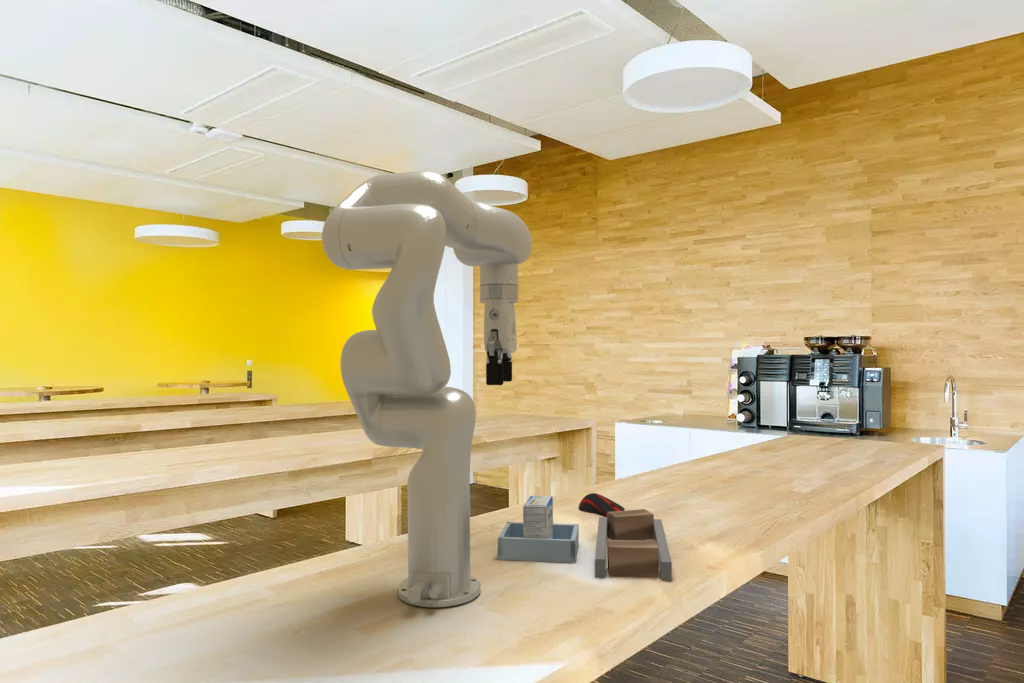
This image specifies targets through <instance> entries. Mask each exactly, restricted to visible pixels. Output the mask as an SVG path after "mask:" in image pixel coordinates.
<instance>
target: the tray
mask: <svg viewBox="0 0 1024 683" xmlns="http://www.w3.org/2000/svg"><path fill="white" fill-rule="evenodd" d="M579 527H580V526H579V524H576V523H553V539H545V538H524V536H523V522H522V521H521V522H520V521H507V522H506V523H505V524H504V526H503V528H502V530H501V532H500V534H499V535H498V537H497V560H499V561H500V560H504V561H522V562H526V561H527V562H545V563H546V562H547V563H548V562H549V563H564V564H565V563H569V564H570V563H571V564H574V563H575V564H576V563H577V555H578V551H579V545H580V542H579V539H580V537H579V535H580V534H579V532H580V531H579V530H580V528H579Z"/></svg>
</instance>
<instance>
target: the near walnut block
mask: <svg viewBox="0 0 1024 683" xmlns="http://www.w3.org/2000/svg"><path fill="white" fill-rule="evenodd" d="M606 556H607V572H608V577H609V578H643V579H644V578H647V579H649V578H651V579H659V578H660V569H659V548H658V545H657V543H656V541H654V540H611V539H607V546H606Z"/></svg>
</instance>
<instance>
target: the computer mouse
mask: <svg viewBox="0 0 1024 683" xmlns="http://www.w3.org/2000/svg"><path fill="white" fill-rule="evenodd" d="M578 510H579V511H580V512H583V513H586V514H587V513H588V514H593V515H594V514H595V515H597V514H598V516H601V517H605V516H606V517H607V512H613V511H626V508H624V507H623V506H622V505H620V503H617V502H615V501H614V500H611V499H610V498H608V497H606V496H604V495H603V494H602V495H601V494H599V493H588V494H586V495H585V496H584V497H583V498H582V499H581V501H580V502H579V504H578Z"/></svg>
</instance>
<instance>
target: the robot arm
mask: <svg viewBox="0 0 1024 683" xmlns="http://www.w3.org/2000/svg"><path fill="white" fill-rule="evenodd" d="M321 241H322V242H321V243H322V247H323V251H324V253H325V255H326V257H327V258H328V259H329V260H328V261H330V262H331V263H332V264H334V265H335V266H336V267H338V268H341V269H345V270H352V271H353V270H356V271H357V270H377V269H390V271H389V273H388V276H387V278H386V279H385V280H384V282H383V284H382V286H381V287H380V289H379V290H378V292H377V293H376V296H375V298H374V301H373V304H372V308H371V316H372V319H373V324H374V326H375V329H368V330H361V331H358V332H355V333H354V334H352V335H351V336H350V337H348V338H347V340H346V341H345V343H344V345H343V347H342V350H341V355H340V366H339V367H340V375H341V380H342V383H343V385H344V388H345V390H346V391H345V392H346V393H347V396H348V398H349V400H350V403H351V406H352V407H353V409H354V411H355V412H354V413H355V414H356V416H357V419H358V421H359V423H360V425H361V427H362V429H363V430H362V431H364V434H365V435H366V437H367V438H368V439H369V440H370V442H372V443H373V444H375V445H378V446H380V447H381V446H382V447H391V448H404V449H405V448H407V449H408V448H409V449H418V450H422V453H421V455H420V457H418V459H417V461H416V462H415V463H414V465H413V467H412V468H411V470H410V471H409V473H408V477H407V491H406V492H407V578H405V579H404V580H402V581H401V582H400V583H399V584H398V586H397V596H398V598H399V599H400V600H402V601H403V602H404V603H407V604H410V605H411V606H416V607H417V606H418V607H421V608H422V607H423V608H446V607H447V608H448V607H453V606H458V605H462V604H465V603H468V602H470V601H473V600H474V599H476V598H477V597H478V596H479V595H480V593H481V586H482V585H481V582H480V581H479V579H478V578H476V576H473V575H471V485H470V484H471V475H470V474H471V456H472V455H471V453H472V445H473V437H474V432H475V426H476V418H477V417H476V416H477V413H476V412H477V410H476V409H477V408H476V405H475V402H474V400H473V398H472V397H471V395H469V393H467V392H466V391H464V390H462V389H460V388H458V387H457V388H456V387H452V386H447V385H448V383H449V381H450V378H451V372H452V371H451V370H452V367H451V362H450V355H449V353H448V349H447V346H446V343H445V338H444V335H443V333H442V332H443V331H442V329H441V325H440V322H439V319H438V315H437V311H436V308H435V299H434V298H435V297H434V295H435V290H436V289H435V288H436V285H437V280H438V276H439V273H440V269H441V266H442V261H443V257H444V253H445V248H446V247H447V248H451V249H453V253H454V255H455V257H456V259H457V260H458V261H459V262H460V263H461V264H463V265H465V266H468V267H479V303H481V304H484V311H483V313H484V315H483V317H484V318H483V342H484V344H483V345H484V351H485V352H486V359H485V384H486V385H487V386H503V384H504V382H505V383H506V382H507V383H508V382H510V383H511V382H512V381H513V361H512V360H513V359H512V358H513V357H512V354H513V353H516V352H517V348H518V347H517V346H518V345H517V344H518V343H517V326H516V325H517V324H516V309H515V303H516V304H518V303H519V265H522V264H524V263H525V262H527V261H528V259H529V258H530V256H531V254H532V250H533V239H532V235H531V231H530V230H529V227H528V226H527V224H526V223H525V222H524V220H522V219H521V217H519V215H517V214H515V213H514V212H513V211H511V210H507V209H505V208H500V207H497V206H493V205H490V204H487V203H484V202H480V201H476V200H473V199H470V198H469V197H468V196H466V195H465V194H464V193H463V192H462V191H460V189H459V188H457V187H456V185H454V184H453V183H452V182H451V181H449V179H448V178H447V177H445V176H444V175H442V174H440V173H438V172H434V171H430V170H429V171H428V170H419V171H406V172H405V171H404V172H395V173H385V174H384V173H383V174H377V175H374V176H372V177H370V178H368V179H367V180H365V181H363V182H362V183H361V184H359V185H358V186H357V187H356V188H354V190H352V191H351V192H350V193H349V194H348V195H347V196H346V197H345V198H343V199H342V201H340V202H339V203H338V204H337V205H336V206H335V207H334V208H333V209H332V211H331V212H329V214H328V216H327V217H326V220H324V224H323V228H322V232H321Z"/></svg>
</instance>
